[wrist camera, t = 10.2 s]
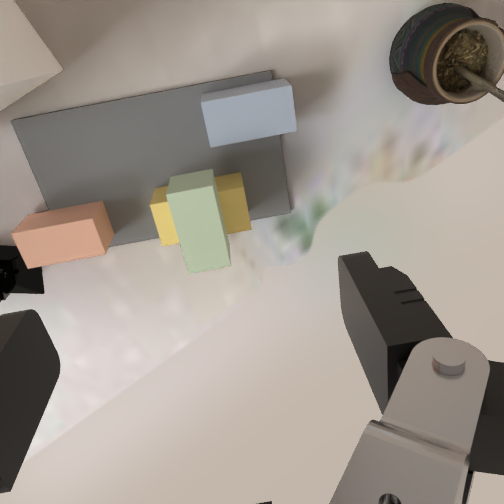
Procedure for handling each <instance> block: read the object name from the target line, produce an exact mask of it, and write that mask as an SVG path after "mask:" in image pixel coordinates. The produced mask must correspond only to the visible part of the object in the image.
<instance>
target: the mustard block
mask: <svg viewBox="0 0 504 504" xmlns="http://www.w3.org/2000/svg"><path fill="white" fill-rule="evenodd" d="M214 178H215V182H216V187H217V191H218V196H219V200H220V205H221V209H222V213H223V218H224V222H225V227H226V231H227V234H230V233H236V232H241V231H246V230H252V229H251V223H250V218H249V212H248V207H247V202H246V196H245V191H244V186H243V181H242V175H241V172H238V173H232V174H227V175H222V176H217V177H214ZM167 188H168V186H164V187H159V188H155V190H154V193H153V196H152V199H151V202H150V208H151V211H152V214H153V217H154V221H155V224H156V227H157V230H158V234H159V237H160V240H161V244H162V246H167V245H172V244H177V243H180V242H179V239H178V235H177V232H176V229H175V225H174V222H173V218H172V215H171V211H170V208H169V204H168V201H167V197H166V192H167Z"/></svg>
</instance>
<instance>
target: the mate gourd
mask: <svg viewBox="0 0 504 504" xmlns="http://www.w3.org/2000/svg"><path fill="white" fill-rule="evenodd" d="M495 22H496V20H495V21H493V20H490V19H487V18H481V17H479V16H478V14H477V13H476V12H475V11H473V10H472V9H471V8H468V7H465V6H461V5H458V4H452V3H443V4H438V5H433V6H430V7H427V8H426V9H424V10H422V11H420V12H419V13H417V14H416V15H414V16H413V17H411V18H410V19H409V20H408V21H407V22H406V23H405V24H404V25H403V26H402V27H401V28H400V30H399V31H398V33H397V34H396V36H395V38H394V40H393V43H392V47H391V51H390V57H389V63H390V71H391V74H392V79H393V82H394V84H395V86H396V87H397V89H398V90H400V91H401V92H402V93H404V94H405V95H406V96H407V97H409V98H410V99H412V100H413V101H416V102H418V103H421V104H426V105H439V104H445V103H454V104H466V103H470V102H473V101H476V100H478V99H480V98H481V97H483V96H484V95H486V94H487V93H488V92H489V93H491V94H492V95H494V96H496V97H497V98H498V99H500V100H501V101H503V102H504V91H503V90H501V89H499V88H497V87H496V86H495V85H496V84H497V83H498V81H499V80H500V78H501V76H502V75H503V73H504V30H503V29H501V28H500V27H499V28H498V27H497V26H498V24H497V23H495Z"/></svg>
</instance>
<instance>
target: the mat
mask: <svg viewBox="0 0 504 504" xmlns="http://www.w3.org/2000/svg"><path fill="white" fill-rule="evenodd" d="M266 81H272V74H271V70H269V71H264V72H259V73H254V74H249V75H243V76H238V77H233V78H228V79H223V80H217V81H212V82H207V83H202V84H197V85H191V86H186V87H181V88H176V89H171V90H165V91H160V92H155V93H150V94H145V95H140V96H134V97H129V98H124V99H119V100H114V101H108V102H103V103H98V104H93V105H88V106H82V107H77V108H72V109H67V110H62V111H56V112H51V113H46V114H41V115H36V116H30V117H25V118H20V119H15V120H12V121H11V123H12V125H13V127H14V130H15V132H16V134H17V137H18V139H19V141H20V144H21V146H22V148H23V151H24V153H25V155H26V158H27V160H28V162H29V165H30V167H31V169H32V172H33V174H34V176H35V179H36V181H37V183H38V186H39V188H40V190H41V193H42V195H43V197H44V200H45V202H46V204H47V207H48V209H49V211H51V210H56V209H61V208H66V207H72V206H77V205H82V204H87V203H93V202H98V201H103V204H104V206H105V209H106V212H107V215H108V217H109V220H110V223H111V226H112V229H113V231H114V236H113V239H112V241H111V243H110V246H109V247H113V246H118V245H124V244H129V243H134V242H139V241H145V240H150V239H155V238H160V237H159V234H158V230H157V227H156V224H155V221H154V217H153V214H152V211H151V208H150V202H151V199H152V196H153V193H154V190H155V188H159V187H164V186H168V184H169V180H170V177H172V176H177V175H182V174H187V173H193V172H198V171H203V170H208V169H213V173H214V177H217V176H222V175H227V174H232V173H238V172H241V175H242V181H243V186H244V191H245V196H246V202H247V207H248V212H249V218H250V221H251V220H256V219H261V218H267V217H272V216H277V215H282V214H288V213H291V211H290V204H289V197H288V190H287V182H286V175H285V168H284V161H283V154H282V146H281V139H280V134H279V135H274V136H269V137H264V138H258V139H253V140H248V141H243V142H237V143H232V144H227V145H222V146H216V147H211V148H210V143H209V138H208V134H207V129H206V125H205V120H204V116H203V111H202V106H201V96H202V94H204V93H209V92H214V91H220V90H225V89H230V88H235V87H240V86H246V85H251V84H256V83H261V82H266Z"/></svg>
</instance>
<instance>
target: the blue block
mask: <svg viewBox="0 0 504 504" xmlns="http://www.w3.org/2000/svg"><path fill="white" fill-rule="evenodd" d="M201 106H202V111H203V116H204V120H205V125H206V129H207V134H208V138H209V143H210V148H211V147H216V146H222V145H227V144H232V143H237V142H243V141H248V140H253V139H258V138H264V137H269V136H274V135H279V134H285V133H290V132H295V131H297V125H296V117H295V108H294V100H293V92H292V85H291V84H290V83H289V82H288V81H287V80H286V79H285V78H282V79H277V80H272V81H266V82H261V83H256V84H251V85H246V86H240V87H235V88H230V89H225V90H220V91H214V92H209V93H204V94H202V96H201Z"/></svg>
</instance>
